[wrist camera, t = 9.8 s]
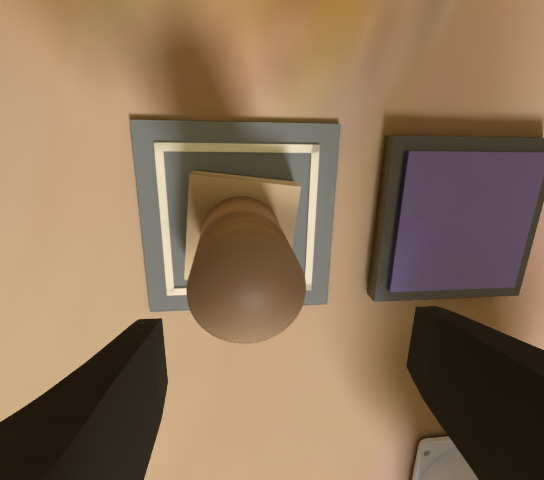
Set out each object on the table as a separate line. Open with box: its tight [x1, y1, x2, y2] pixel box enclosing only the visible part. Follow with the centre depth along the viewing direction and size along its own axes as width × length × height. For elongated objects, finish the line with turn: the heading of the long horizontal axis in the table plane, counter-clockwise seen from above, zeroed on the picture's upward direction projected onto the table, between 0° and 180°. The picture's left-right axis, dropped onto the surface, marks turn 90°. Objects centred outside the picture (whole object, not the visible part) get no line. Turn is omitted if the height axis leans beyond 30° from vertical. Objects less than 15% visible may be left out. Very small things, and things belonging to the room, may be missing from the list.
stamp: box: [184, 170, 306, 344], centre depth 14 cm, size 5×5×8 cm
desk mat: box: [130, 120, 340, 312], centre depth 18 cm, size 10×10×1 cm
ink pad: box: [367, 135, 544, 302], centre depth 19 cm, size 9×9×1 cm
